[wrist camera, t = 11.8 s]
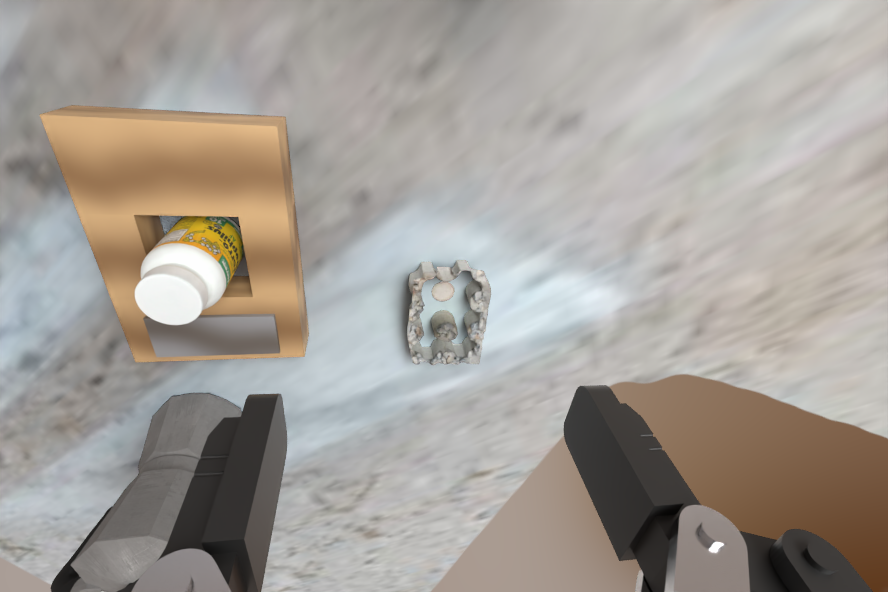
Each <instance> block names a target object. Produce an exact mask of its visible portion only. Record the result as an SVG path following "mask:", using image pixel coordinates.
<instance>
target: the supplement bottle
mask: <svg viewBox="0 0 888 592" xmlns="http://www.w3.org/2000/svg"><path fill="white" fill-rule="evenodd" d="M244 252H245V251H244V245H243V240H242V234H241V229H240V228H239V226H238V225H237V224H236V223H235V222H234V221H233V220H231V219H230V218H228V217H220V216H184V217H182V218H181V219H180V220H179V221H178V222H177V223H176V224H175V225H174V226H173V227H172V228H171V230H170V231H169V232H168V233H167V234H166V235H165V236H164V237H163V238H162V239H161V240H160V241H159V243H158V244H157V245H156V246H155V247H154V248H153V249H152V250H151V251H150V252H149V253H148V255H147V256H146V257H145V259H144V260H143V263H142V266H141V280H140V282H139V283H138V284H137V286H136V288H135V300H136V303H137V305H138V306H139V308H140V309H141V310H142V312H143V313H145V314H146V315H147V316H148V317H150V318H151V319H153V320H155V321H158V322H160V323H164V324H168V325H183V324H187V323H190V322H192V321H193V320H195V319H196V318H197V317H198V316H199V315H200V314H201V312H202V311H203V310H204V309H207V308H209V307H211V306H213V305H214V304H215V303H216V302H218V300H219V299H220V298H221V297H222V295H223V293H224V292H225V290H226V288H227V286H228V284H229V282H230V280H231V279H232V277H233V275H234V273H235V271H236V269H237V267H238V265H239V263H240V261H241V259H242V257H243V255H244Z"/></svg>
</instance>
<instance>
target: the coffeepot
mask: <svg viewBox="0 0 888 592" xmlns="http://www.w3.org/2000/svg"><path fill="white" fill-rule="evenodd" d="M241 415H242V413H241V410H240V409H239V408H238V407H237V406H235V405H234V404H233V403H231V402H229V401H228V400H226V399H223V398H221V397H218V396H215V395H211V394H205V393H189V394H183V395H179V396H174V397H171V398H170V399H169V400H168V401H167V402H166V403H164V404H163V406H162V407H161V408H160V409H159V410H158V411H157V412H156V413H155V414H154V415H153V417H152V421H151V424H150V428H149V431H148V435H147V438H146V441H145V445H144V448H143V452H142V455H141V459H140V462H139V466H138V468H139V474H138V476H137V478H136V479H134V480H133V481H132V483H131V484H130V485H129V486H128V487H127V488H126V489H125V490H124V492H123V493H122V494H121V496H120V497H119V499H118V500H117V501H116V503H115V504H114V506H113V507H111V508H110V509H109V510H107V512H106V513H105V515H104V516H103V517H102V519H101V520H100V521H99V522H98V524H97V525H96V526H95V527H94V529H93V530H92V531H91V532H90V533H89V535H88V536H87V537H86V539H85V540H84V542H83V543H82V544H81V546H80V547H79V548H78V550H77V551H76V552H75V554H74V555H73V556H72V557H71V559H70V560H69V561H68V562H67V564H66V565H65V566H64V567H63V568H62V570H61V571H60V572H59V573H58V575H57V576H56V578H55V579H54V581H53V583H52V585H51V591H52V592H101V591H104V592H117V591H119V590H121V589H123V588H125V587H127V586H128V585H130V584H132V583H133V582H135V581H136V580H137V579H139V578H140V577H141V576H142V575H143V573H144V572H145V571H146V570H147V569H148V568H149V567H150V566H151V565H153V564H154V563H155V562H156V561H157V560H158V559H159V557H160V556H161V554H162V553H163V551H164V550H165V547H166V545H167V543H168V541H169V538H170V535H171V533H172V530H173V527H174V525H175V522H176V519H177V517H178V514H179V511H180V509H181V506H182V503H183V501H184V498H185V496H186V493H187V490H188V488H189V485H190V482H191V480H192V477H194V472H195V469H196V466H197V464H198V461H199V460H200V458H201V457H200V456H201V453H202V450H203V448H204V445H205V442H206V440H207V437H208V435H209V434H210V433H211V432H212V431H213V429H214V428H215V427H216V426H217V425H218V424H219V423H220V422H221V420H222V419H223V418H224V417H241Z"/></svg>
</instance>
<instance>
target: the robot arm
mask: <svg viewBox="0 0 888 592" xmlns="http://www.w3.org/2000/svg"><path fill="white" fill-rule="evenodd" d="M564 437H565V441H566V444H567V447H568V449H569V451H570V453H571V455H572V457H573V460H574V462H575V464H576V466H577V468H578V471H579V473H580V475H581V477H582V479H583V481H584V484H585V486H586V488H587V490H588V492H589V495H590V497H591V499H592V501H593V504H594V506H595V508H596V510H597V512H598V515H599V517H600V519H601V521H602V523H603V526H604V528H605V530H606V532H607V534H608V536H609V539H610V541H611V543H612V545H613V548H614V550H615V552H616V554H617V556H618V559H619V561H623V560H633V559H637V561H638V564H639V566H640V568H641V570H640V571H639V573H638V577H637V584H636V590H635V592H873V591H872V590H871V589H870V588H869V586H868V585H867V584H866V583H865V581H864V580H863V579H862V578H861V577H860V575H859V574H858V573H857V572H856V571H855V569H854V568H853V567H852V565H851V564H850V563H849V562H848V561H847V559H846V558H845V557H844V556H843V555H842V554H841V553H840V552H839V551H838V550H837V549H836V548H835V547H833V546H832V545H831V544H830V543H828V542H827V541H825V540H824V539H822V538H820V537H819V536H817V535H815V534H813V533H811V532H808V531H805V530H800V529H791V530H788V531H786V532H785V533H784V534H783V535H782V536H781V537H780V538H779V539H778V540H774V539H770V538H766V537H762V536H758V535H754V534H750V533H746V532H742V531H739V530H738V529H737V528H736V527H735V526H734V525H733V524H732V523H731V522H730V521H729V520H728V519H727V518H726V517H725V516H723V515H722V514H720V513H719V512H717V511H715V510H713V509H711V508H708V507H705V506H702V505H701V504H700V503H699V501H698V500H697V499H696V497H695V496H694V494H693V493H692V491H691V490H690V488H689V487H688V485H687V484H686V482H685V481H684V479H683V478H682V476H681V475H680V473H679V472H678V470H677V469H676V467H675V466H674V464H673V463H672V461H671V460H670V458H669V457H668V455H667V454H666V452H665V451H663V450H662V446H661V445H660V443H659V442H658V440H657V439H656V438H655V437H653V433H652V431H651V430H650V428H649V427H648V426H647V424H646V423H645V421H644V420H643V418H642V417H641V416H640V415H638V414H637V413H636V412H635V411H634V410H633V409H632V408H631V407H629V406H628V405H627V404H620V403H619V401H618V399H617V398H616V396H615V395H614V394H613V392H612V390H611V389H610V388H609V387H608V386H606V385H599V386H580V387H578V389H577V390H576V393H575V395H574V398H573V401H572V403H571V406H570V409H569V411H568V414H567V417H566V419H565V422H564ZM286 452H287V431H286V423H285V416H284V408H283V401H282V396H281V394H256V395H249V396H248V397H247V399H246V402H245V405H244V408H243V411H242V415H241V417H224V418H223V419H222V420H221V422H220V423H219V424H218V425H217V426H216V427H215V428H214V429H213V431H212V432H211V433H210V434H209V435H208V437H207V440H206V442H205V445H204V448H203V450H202V453H201V456H200V457H201V458H200V460H199V461H198V464H197V466H196V469H195V472H194V477H192V480H191V482H190V485H189V488H188V490H187V493H186V496H185V498H184V501H183V503H182V506H181V509H180V511H179V514H178V517H177V519H176V522H175V525H174V527H173V530H172V533H171V535H170V538H169V541H168V543H167V545H166V547H165V550H164V551H163V553H162V554H161V556H160V557H159V559H158V560H157V561H156V562H155V563H154V564H153V565H151V566H150V567H149V568H148V569H147V570H146V571H145V572H144V573H143V575H142V576H141V577H140V578H139V579H137V580H136V581H135V582H133V583H132V584H130V585H128V586H127V587H125V588H123V589H121V590H119V591H117V592H261V589H262V584H263V579H264V573H265V568H266V562H267V557H268V552H269V546H270V541H271V535H272V530H273V524H274V519H275V514H276V508H277V503H278V497H279V492H280V487H281V481H282V476H283V470H284V465H285V459H286Z"/></svg>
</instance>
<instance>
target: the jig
mask: <svg viewBox="0 0 888 592" xmlns="http://www.w3.org/2000/svg"><path fill="white" fill-rule="evenodd" d="M40 117H41V120H42V122H43V125H44V128H45V130H46V133H47V135H48V138H49V140H50V143H51V146H52V148H53V151H54V153H55V156H56V158H57V161H58V164H59V166H60V169H61V171H62V174H63V176H64V179H65V182H66V184H67V187H68V189H69V192H70V194H71V197H72V200H73V202H74V205H75V207H76V210H77V213H78V215H79V218H80V220H81V223H82V225H83V228H84V231H85V233H86V236H87V238H88V241H89V243H90V246H91V249H92V251H93V254H94V256H95V259H96V261H97V264H98V267H99V269H100V272H101V274H102V277H103V279H104V282H105V285H106V287H107V290H108V292H109V295H110V297H111V300H112V303H113V305H114V308H115V310H116V313H117V315H118V318H119V321H120V323H121V326H122V328H123V331H124V333H125V336H126V339H127V341H128V344H129V346H130V349H131V352H132V354H133V357H134V359H135V362H159V361H188V360H218V359H248V358H278V357H304V356H305V351H306V346H307V341H308V336H309V330H308V321H307V312H306V302H305V293H304V284H303V275H302V265H301V256H300V247H299V238H298V229H297V219H296V210H295V201H294V192H293V182H292V173H291V164H290V155H289V145H288V136H287V127H286V118H285V117H279V116H261V115H242V114H224V113H205V112H186V111H168V110H149V109H131V108H112V107H94V106H75V105H71V106H68V107H64V108H61V109H57V110H54V111H50V112H47V113H43V114H40ZM159 215H162V216H220V217H238V218H239V223H240V229H241V234H242V240H243V245H244V251H245V256H246V262H247V267H248V273H249V276H233V277H232V279H231V280H230V282H229V284H228V286H227V288H226V290H225V292H224V293H223V295H222V297H221V298H220V299H219V300H218V302H216V303H215V304H214V305H213V306H211V307H209V308H207V309H204V310H203V311H202V312H201V314H200V315H199V316H198V317H197V318H196V319H195V320H193V321H192V322H190V323H187V324H183V325H168V324H164V323H160V322H158V321H155V320H153V319H151V318H150V317H148V316H147V315H146V314H145V313H143V312H142V310H141V309H140V308H139V306H138V305H137V303H136V300H135V288H136V286H137V284H138V283H139V282H140V280H141V266H142V263H143V260H144V259H145V257H146V256H147V255H148V253H149V252H150V251H151V250H152V249H153V248H154V247H155V246H156V245H157V244H158V243H159V241H160V240H161V239H162V238H163V237H164V236H165V235H164V232H163V228H162V225H161V221H160V218H159Z"/></svg>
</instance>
